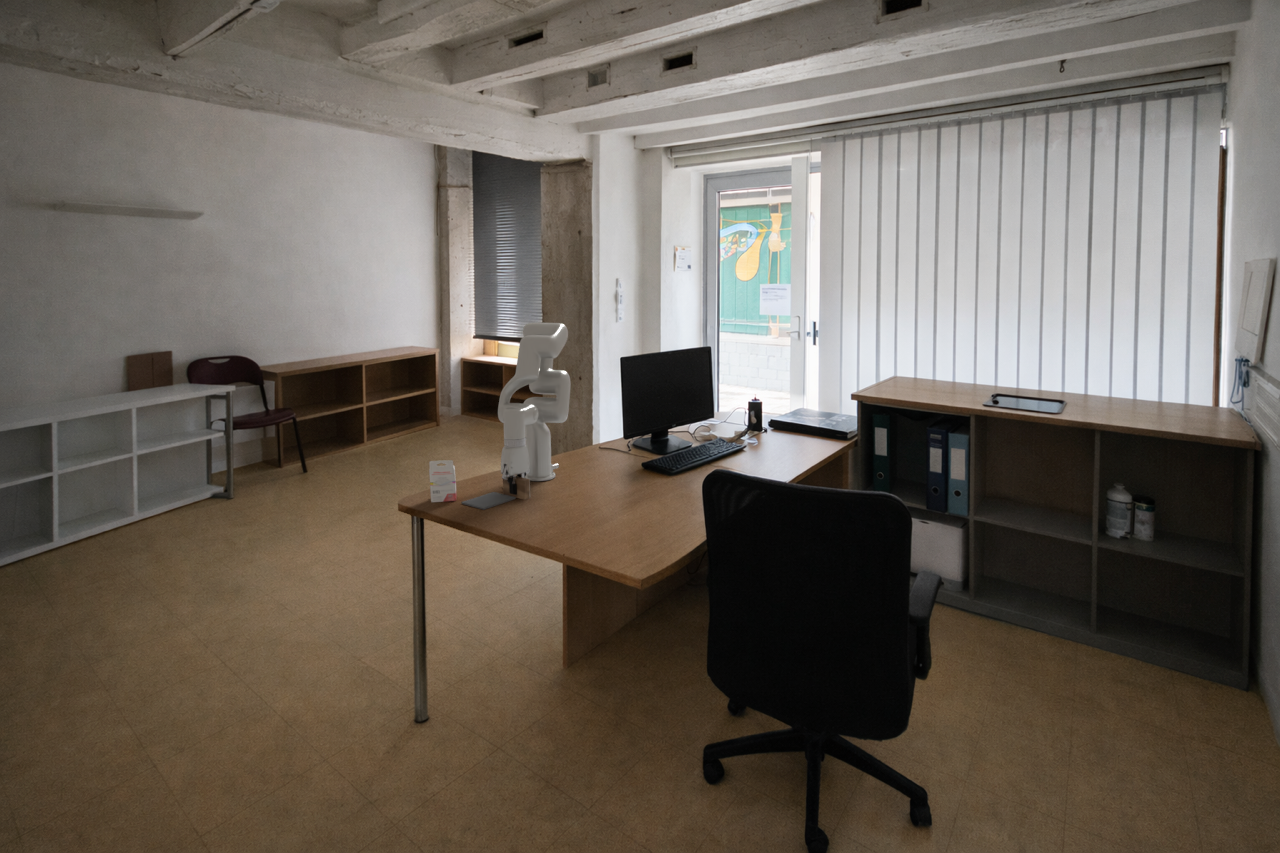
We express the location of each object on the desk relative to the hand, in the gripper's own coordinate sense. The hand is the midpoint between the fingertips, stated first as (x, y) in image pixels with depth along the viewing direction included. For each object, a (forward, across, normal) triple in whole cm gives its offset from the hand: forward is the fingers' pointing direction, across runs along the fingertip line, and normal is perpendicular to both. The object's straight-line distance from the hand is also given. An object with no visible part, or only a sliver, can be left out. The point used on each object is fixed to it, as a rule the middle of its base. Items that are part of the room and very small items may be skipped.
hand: (516, 492), depth 251 cm
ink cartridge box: (+2, +18, -18) cm, 25 cm away
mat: (+1, +10, -4) cm, 11 cm away
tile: (+1, 0, 0) cm, 1 cm away
